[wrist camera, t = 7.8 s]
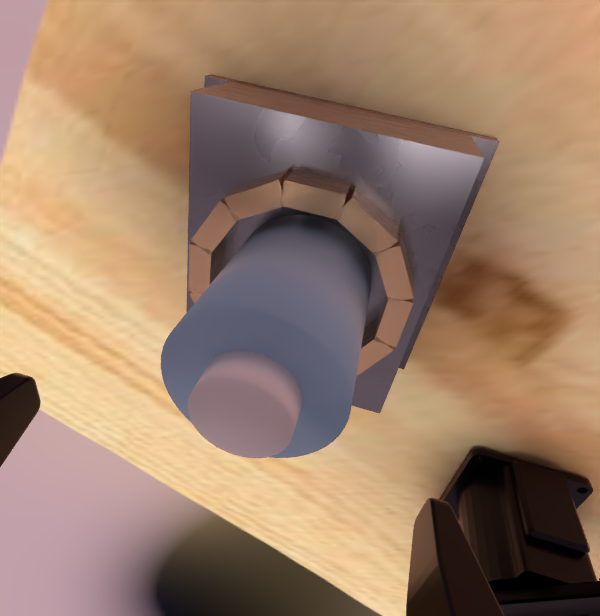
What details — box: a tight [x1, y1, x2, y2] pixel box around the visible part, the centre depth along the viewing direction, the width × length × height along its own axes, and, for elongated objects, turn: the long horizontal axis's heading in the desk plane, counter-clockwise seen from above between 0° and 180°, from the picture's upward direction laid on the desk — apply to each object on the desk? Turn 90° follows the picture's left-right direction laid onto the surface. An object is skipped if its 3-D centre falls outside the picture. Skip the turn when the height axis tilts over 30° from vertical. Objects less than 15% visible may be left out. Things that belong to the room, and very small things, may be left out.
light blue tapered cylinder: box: [161, 215, 371, 458], centre depth 13 cm, size 5×5×7 cm
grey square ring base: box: [187, 75, 499, 413], centre depth 17 cm, size 11×11×5 cm
